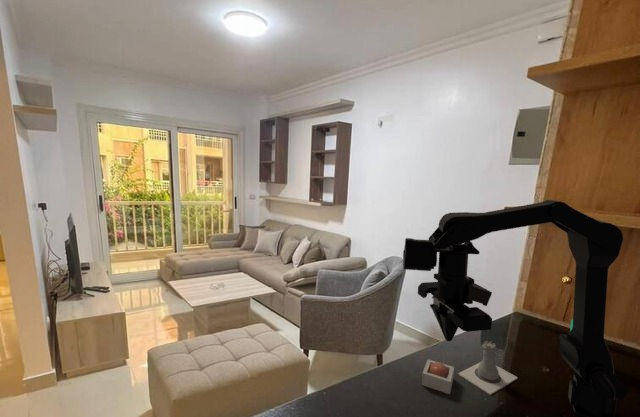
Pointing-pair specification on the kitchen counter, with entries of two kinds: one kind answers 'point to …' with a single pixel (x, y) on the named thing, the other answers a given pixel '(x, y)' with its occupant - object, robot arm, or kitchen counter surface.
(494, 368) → the rook chess piece
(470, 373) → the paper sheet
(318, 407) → the kitchen counter surface
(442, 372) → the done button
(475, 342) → the kitchen counter surface
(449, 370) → the button housing
